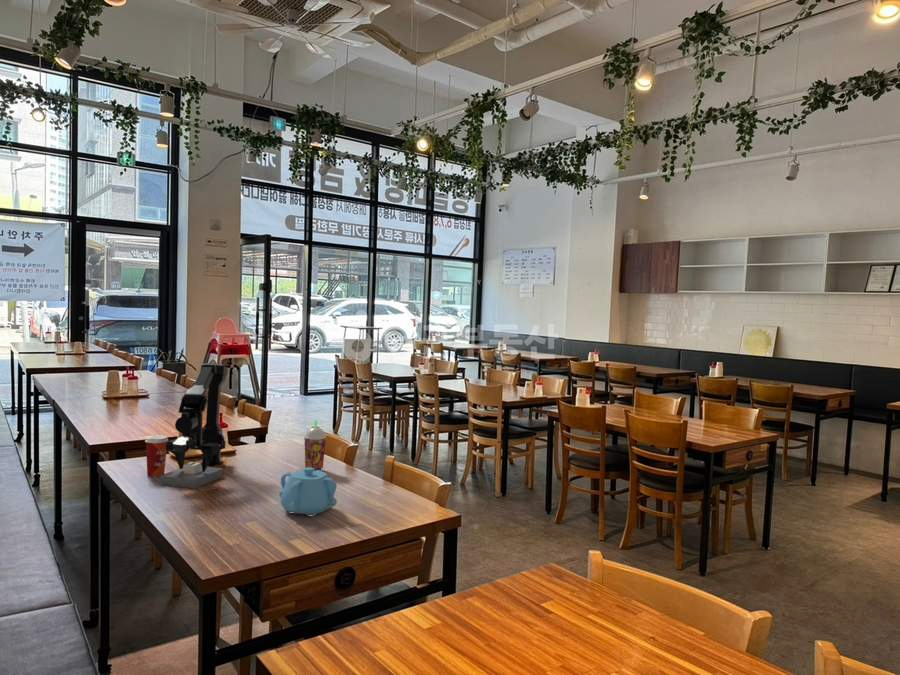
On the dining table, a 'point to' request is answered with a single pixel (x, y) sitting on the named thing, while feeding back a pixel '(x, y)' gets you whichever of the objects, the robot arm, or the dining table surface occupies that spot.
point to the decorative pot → (307, 491)
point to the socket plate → (191, 477)
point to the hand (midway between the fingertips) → (192, 470)
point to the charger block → (192, 468)
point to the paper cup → (156, 454)
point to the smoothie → (314, 448)
